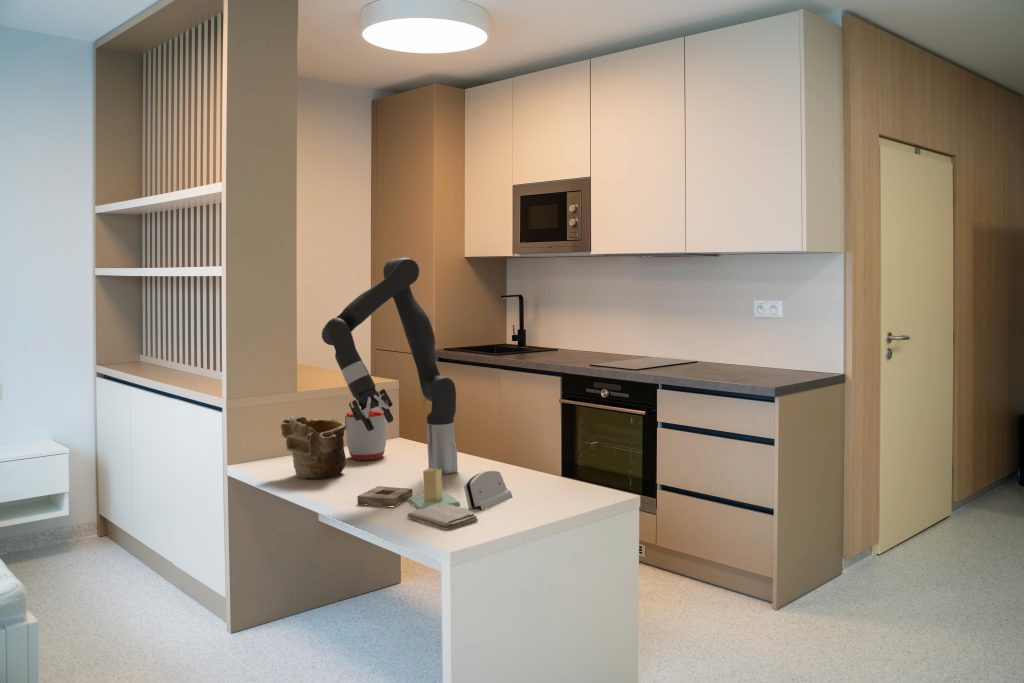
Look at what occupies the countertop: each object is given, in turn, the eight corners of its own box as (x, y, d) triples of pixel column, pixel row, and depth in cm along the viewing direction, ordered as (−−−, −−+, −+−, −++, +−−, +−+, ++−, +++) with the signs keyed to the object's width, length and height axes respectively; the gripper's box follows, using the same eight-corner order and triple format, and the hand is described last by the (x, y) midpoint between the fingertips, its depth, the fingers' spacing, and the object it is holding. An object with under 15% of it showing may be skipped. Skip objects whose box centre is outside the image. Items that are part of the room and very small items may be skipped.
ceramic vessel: (382, 447, 287) (342, 397, 274) (338, 501, 275) (294, 452, 262) (344, 438, 303) (305, 391, 290) (301, 489, 291) (258, 442, 278)
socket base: (378, 494, 257) (378, 486, 257) (412, 496, 252) (412, 488, 252) (357, 504, 246) (357, 496, 245) (393, 507, 241) (392, 498, 241)
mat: (446, 495, 253) (446, 492, 253) (459, 505, 242) (459, 501, 242) (408, 500, 248) (408, 497, 248) (420, 510, 237) (420, 507, 237)
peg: (430, 497, 247) (429, 467, 247) (442, 498, 246) (441, 468, 245) (424, 501, 244) (423, 471, 243) (436, 501, 242) (435, 471, 241)
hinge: (482, 510, 235) (471, 476, 236) (470, 514, 238) (459, 480, 239) (513, 496, 250) (502, 464, 251) (500, 499, 252) (490, 468, 253)
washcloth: (448, 532, 217) (448, 521, 217) (405, 520, 230) (404, 509, 230) (480, 522, 226) (480, 511, 226) (437, 510, 238) (437, 500, 238)
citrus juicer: (343, 454, 317) (341, 403, 315) (389, 452, 319) (386, 401, 317) (339, 463, 302) (336, 409, 300) (387, 461, 303) (385, 407, 302)
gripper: (348, 380, 246) (372, 429, 245) (381, 368, 257) (404, 415, 256) (334, 389, 251) (357, 437, 249) (367, 377, 262) (390, 423, 261)
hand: (381, 426), depth 253 cm, fingers open, 8 cm apart
